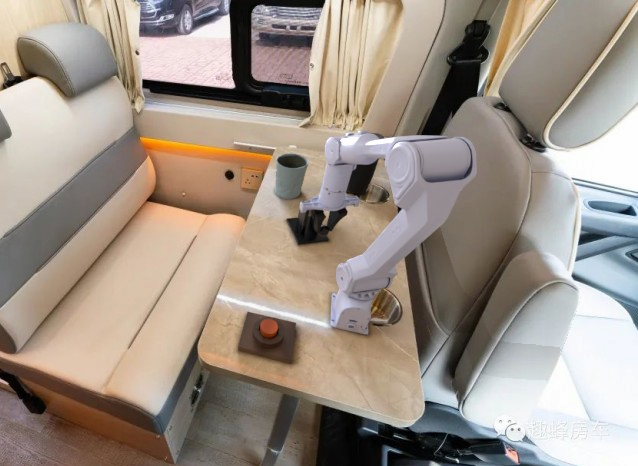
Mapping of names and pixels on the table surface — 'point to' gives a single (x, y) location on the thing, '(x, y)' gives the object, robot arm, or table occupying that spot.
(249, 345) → the button block
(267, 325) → the button
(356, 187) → the portable speaker
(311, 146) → the table surface
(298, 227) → the bracket
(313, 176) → the table surface
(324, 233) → the lever
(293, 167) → the green cup
